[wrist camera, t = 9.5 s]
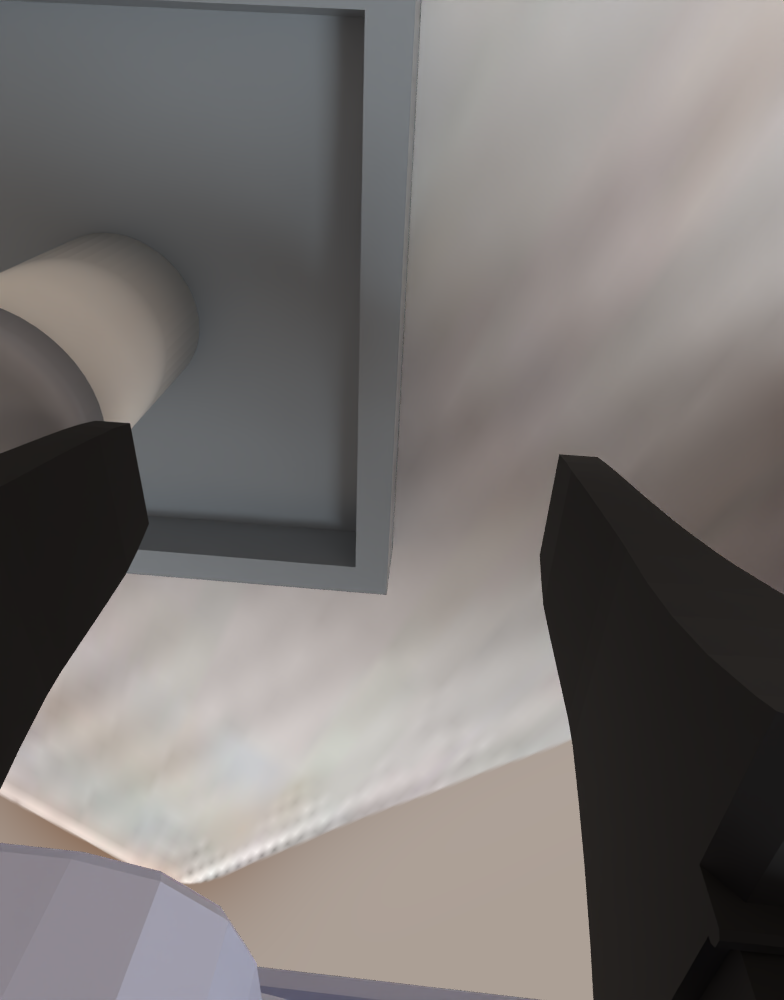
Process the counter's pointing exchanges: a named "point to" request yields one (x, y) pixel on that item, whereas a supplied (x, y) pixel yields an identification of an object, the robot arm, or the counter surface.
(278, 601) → the counter surface
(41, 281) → the shaker
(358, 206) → the tray
